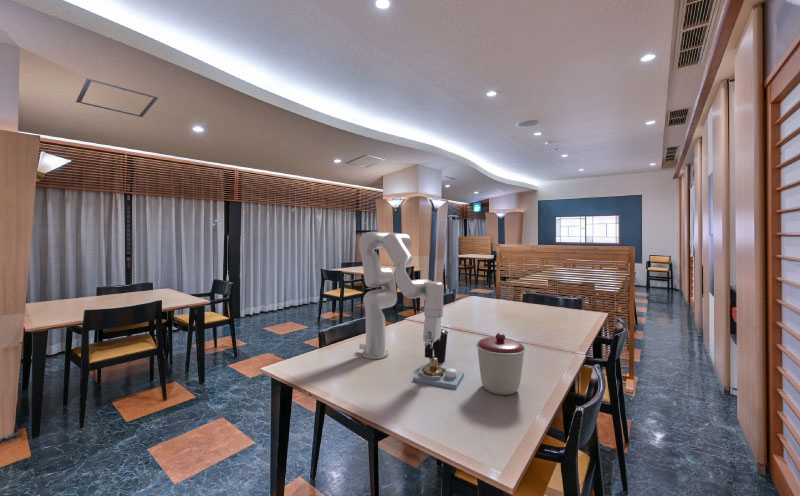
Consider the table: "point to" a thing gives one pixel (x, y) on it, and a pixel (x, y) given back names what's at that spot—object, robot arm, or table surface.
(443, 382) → the carrier plate
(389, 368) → the table surface
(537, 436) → the table surface
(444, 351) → the drinking cup
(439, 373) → the bronze gear
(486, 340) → the canister
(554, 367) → the table surface
